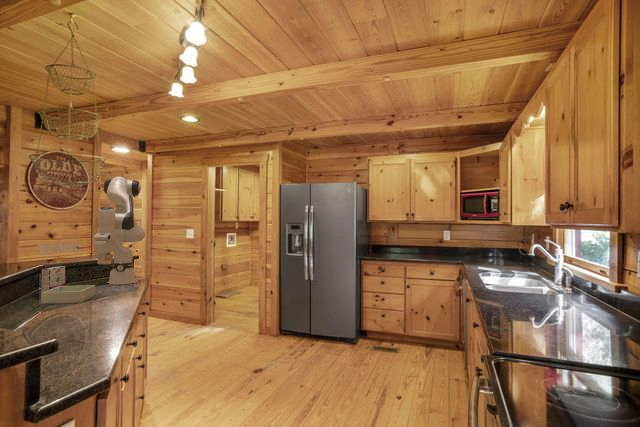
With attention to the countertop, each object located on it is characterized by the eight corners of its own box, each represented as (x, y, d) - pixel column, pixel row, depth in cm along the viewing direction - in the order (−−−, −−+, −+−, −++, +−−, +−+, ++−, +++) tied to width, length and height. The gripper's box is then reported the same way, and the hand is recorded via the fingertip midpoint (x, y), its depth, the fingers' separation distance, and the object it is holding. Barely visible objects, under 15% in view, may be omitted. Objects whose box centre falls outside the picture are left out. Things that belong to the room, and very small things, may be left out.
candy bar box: (56, 294, 190) (58, 266, 191) (65, 294, 190) (66, 266, 191) (40, 299, 179) (41, 268, 180) (49, 299, 179) (50, 268, 179)
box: (58, 296, 184) (58, 286, 185) (95, 295, 189) (95, 284, 189) (40, 304, 167) (41, 292, 167) (81, 302, 172) (82, 291, 172)
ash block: (100, 263, 185) (100, 254, 186) (112, 263, 187) (112, 254, 187) (97, 264, 181) (97, 255, 181) (109, 264, 183) (110, 255, 183)
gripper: (106, 234, 193) (105, 258, 193) (92, 236, 174) (91, 263, 174) (118, 234, 195) (117, 258, 195) (105, 236, 175) (105, 262, 175)
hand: (105, 260), depth 184 cm, fingers closed on ash block, 4 cm apart
